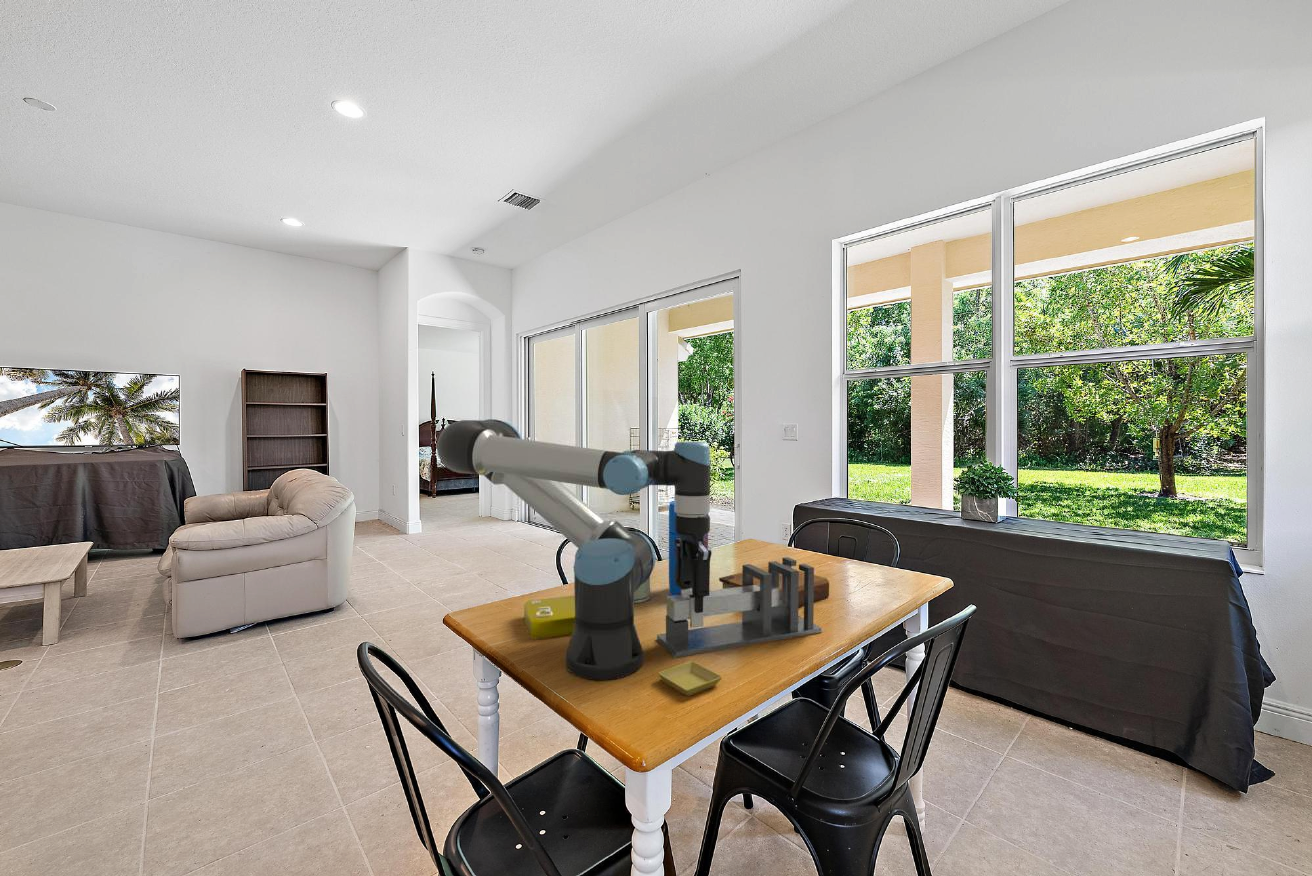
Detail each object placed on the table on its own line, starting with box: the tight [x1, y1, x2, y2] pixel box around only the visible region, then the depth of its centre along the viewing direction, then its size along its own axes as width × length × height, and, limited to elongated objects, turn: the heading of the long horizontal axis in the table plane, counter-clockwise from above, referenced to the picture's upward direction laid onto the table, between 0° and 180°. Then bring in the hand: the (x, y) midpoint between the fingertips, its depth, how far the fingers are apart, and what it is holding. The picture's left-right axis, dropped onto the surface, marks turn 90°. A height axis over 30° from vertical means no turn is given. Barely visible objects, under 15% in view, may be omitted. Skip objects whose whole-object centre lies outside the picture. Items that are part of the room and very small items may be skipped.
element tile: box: [523, 595, 575, 640], centre depth 131 cm, size 15×15×5 cm
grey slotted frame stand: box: [656, 556, 823, 658], centre depth 123 cm, size 36×10×15 cm, turn 112°
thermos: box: [668, 500, 709, 596], centre depth 153 cm, size 11×11×25 cm
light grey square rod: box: [666, 584, 781, 621], centre depth 121 cm, size 26×4×4 cm, turn 112°
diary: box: [718, 565, 830, 608], centre depth 150 cm, size 23×19×6 cm
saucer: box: [657, 660, 723, 697], centre depth 101 cm, size 9×9×2 cm
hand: (691, 622), depth 119 cm, fingers closed on light grey square rod, 4 cm apart
